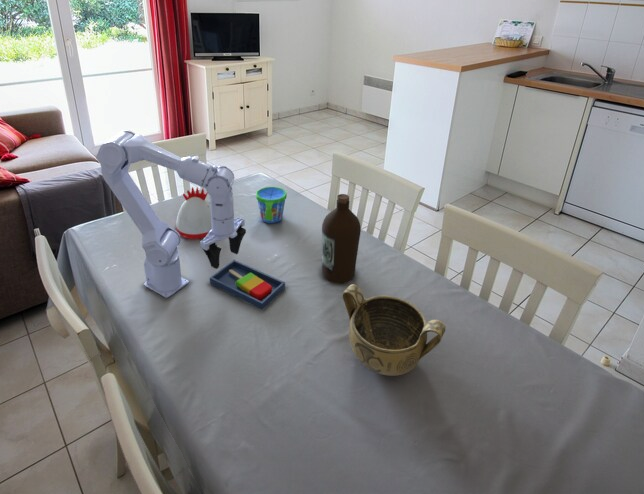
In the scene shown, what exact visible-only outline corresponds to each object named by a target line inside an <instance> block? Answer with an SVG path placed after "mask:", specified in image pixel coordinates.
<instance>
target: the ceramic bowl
mask: <svg viewBox="0 0 644 494" xmlns="http://www.w3.org/2000/svg"><path fill="white" fill-rule="evenodd" d="M342 300H343V302H344V305H345V309H346V311H347V314H348V318H349V325H348V326H349V327H348V336H349V337H348V338H349V344H350V346H351V349H352V352H353V355H355V357H356V359H357V360H358V361H359V362H360V363H361V365H363V366H364V367H365V368H366V369H368V370H370V371H371V372H374V373H376V374H379V375H382V376H389V377H390V376H391V377H396V376H401V375H405V374H408V373H409V372H411V371H412V370H414V369H415V367H416V366H417V365H418V364H419V362H420V360H421V359H422V358H423V357H425V356H426V355H427V354H429V353H430V352H431V351H432V350H433V349H434V348H436V347H437V346H438V345H439V344H440V343H441V341H442V339H443V336H444V334H445V332H446V325H445V323H444V322H443V321H441V320H439V319H431V320H429V321H426V318H425V316H424V314H423V313H422V311H421V310H420V309H419V308H418V307H417V306H415V305H414V304H413V303H411V302H410V301H407V300H405V299H402V298H399V297H397V296H392V295H376V296H371V297H369V298H365V296H364V293H363V292H362V290H361V288H360V287H359V286H358V285H357V284H354V283H353V284H350V285H349V286H348V287H347V288H346V289H345V290H344V291H343V292H342ZM428 333H435V334H436V335H435V336H434V337H433V338H432V339H430V341H428ZM427 341H428V342H427Z"/></svg>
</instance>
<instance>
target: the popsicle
mask: <svg viewBox="0 0 644 494" xmlns="http://www.w3.org/2000/svg"><path fill="white" fill-rule="evenodd" d="M229 272H230V273H232V274H233V275H235V276H236V277H238V278H239V280H237V281H236V282H235V284H236V286H237V287H239V288H240V289H242V290H243V291H245V292H246V293H247V294H249V295H250V296H252V297H253V298H255V299H257V300H262V299H263V298H265V297H266V296H268V295H269V294H270V293H271V292H272V287H271V285H269V284H268V283H266V282H265V281H263V280H262V279H260V278H258V277H257V276H255V275H254V274H252V273H249V274H247V275H245V276H244V277H242V276H241V275H239V274H238V273H236V272H235V271H233V270H229Z"/></svg>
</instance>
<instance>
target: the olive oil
mask: <svg viewBox="0 0 644 494" xmlns="http://www.w3.org/2000/svg"><path fill="white" fill-rule="evenodd" d="M361 231H362V227H361V223H360V220H359V218H358V216H357V215H356V214H355V213H354V212H353V211H352V210H351V209H350V196H349V194H346V193H339V194H338V195H337V197H336V207H335V208H334V209H333V210H331V211H330V212H328V214H327V215H325V217H324V219H323V221H322V224H321V274H322V276H323V278H324V279H325V280H326V281H328V282H330V283H333V284H338V285H340V284H347V283H349V282H351V281H352V280H353V279H354V278H355V275H356V267H357V259H358V252H359V245H360V239H361Z"/></svg>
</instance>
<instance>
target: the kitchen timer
mask: <svg viewBox="0 0 644 494" xmlns="http://www.w3.org/2000/svg"><path fill="white" fill-rule="evenodd" d="M190 191H191V192H190ZM182 193H183V194H182V197H183V198H184V199H185V200H184V202H183V203H182V204H181V206H180V208H179V210H178V212H177V217H176V223H175V224H176V225H175V226H176V231H177V232H178V233H179V235H180V237H182V238H186V239H189V240H190V239H191V240H197V239H204V238H205V237H206V236H207V234H208V233H209V232H210V230H211V229H212V223H211V208H210V200H208V199H207V196H208V195H209V194H208V192H207V191H206V193H205V188H202V189H201V191H199V188H198V187H196V189H194V187H193V186H192V187H191V190H189V189H187V191H186V193H187V195H186V193H184V192H182Z"/></svg>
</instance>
